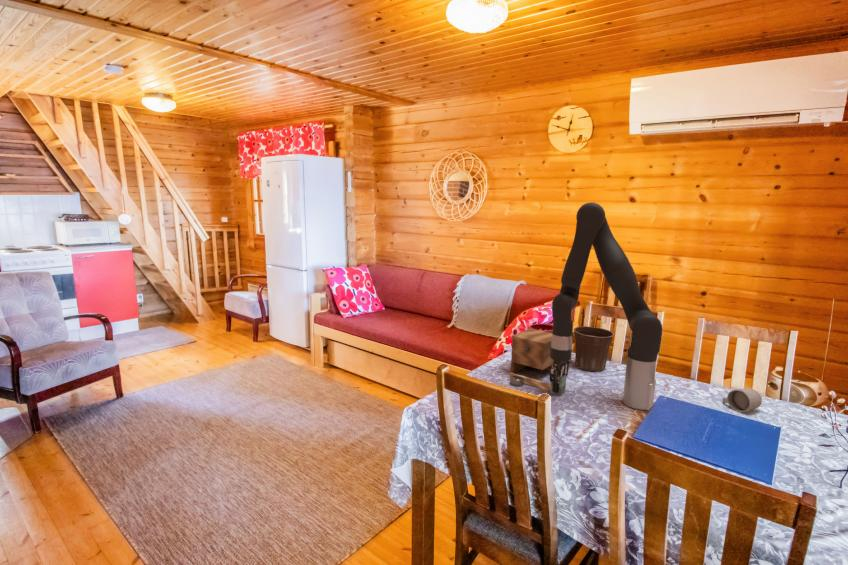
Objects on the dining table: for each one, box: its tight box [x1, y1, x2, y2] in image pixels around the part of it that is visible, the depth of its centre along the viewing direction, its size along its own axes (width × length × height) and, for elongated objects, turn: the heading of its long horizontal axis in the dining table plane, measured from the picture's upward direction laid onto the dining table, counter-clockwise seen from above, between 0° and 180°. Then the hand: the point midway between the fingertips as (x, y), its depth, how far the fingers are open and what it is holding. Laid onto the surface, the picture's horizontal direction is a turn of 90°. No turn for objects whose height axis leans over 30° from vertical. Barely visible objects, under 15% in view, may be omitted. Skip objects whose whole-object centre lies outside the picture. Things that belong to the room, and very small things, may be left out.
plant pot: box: [573, 325, 615, 373], centre depth 193 cm, size 16×16×16 cm
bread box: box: [510, 328, 554, 374], centre depth 185 cm, size 15×16×16 cm
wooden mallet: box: [509, 372, 567, 397], centre depth 171 cm, size 22×4×7 cm, turn 50°
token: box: [509, 376, 524, 388], centre depth 174 cm, size 5×5×2 cm
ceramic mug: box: [722, 387, 763, 413], centre depth 157 cm, size 11×8×8 cm
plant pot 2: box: [528, 323, 553, 333], centre depth 214 cm, size 13×13×12 cm
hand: (557, 390), depth 166 cm, fingers closed on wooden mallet, 4 cm apart
